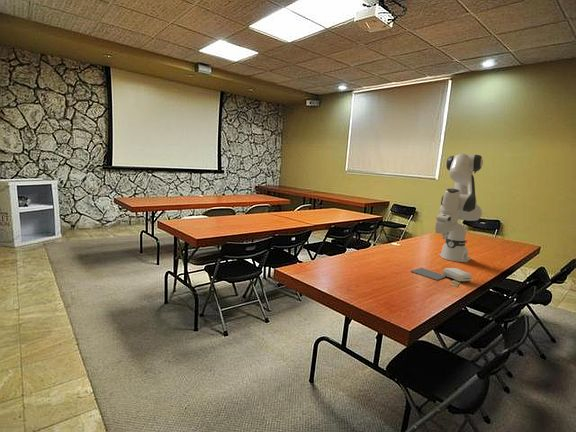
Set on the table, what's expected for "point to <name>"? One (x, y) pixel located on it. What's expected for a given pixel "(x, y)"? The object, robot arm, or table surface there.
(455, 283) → the turner
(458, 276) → the photo printer
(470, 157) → the robot arm
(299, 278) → the table surface
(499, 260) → the table surface
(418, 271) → the mat
